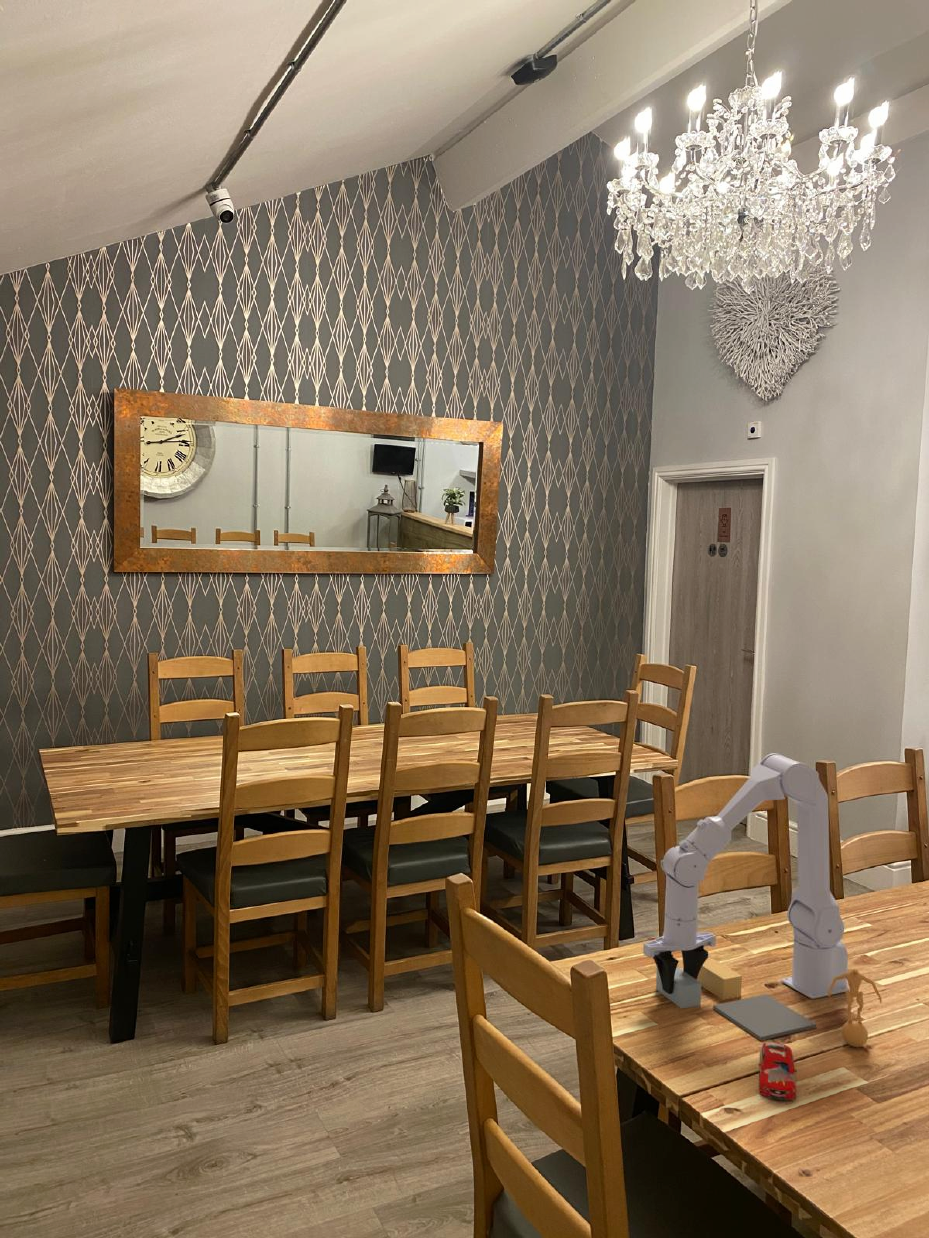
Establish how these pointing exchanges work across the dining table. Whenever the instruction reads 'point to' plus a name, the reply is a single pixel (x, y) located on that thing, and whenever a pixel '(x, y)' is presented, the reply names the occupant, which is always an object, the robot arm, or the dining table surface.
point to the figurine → (852, 1029)
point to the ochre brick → (720, 979)
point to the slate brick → (682, 989)
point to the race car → (777, 1072)
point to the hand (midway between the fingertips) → (678, 989)
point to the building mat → (764, 1017)
